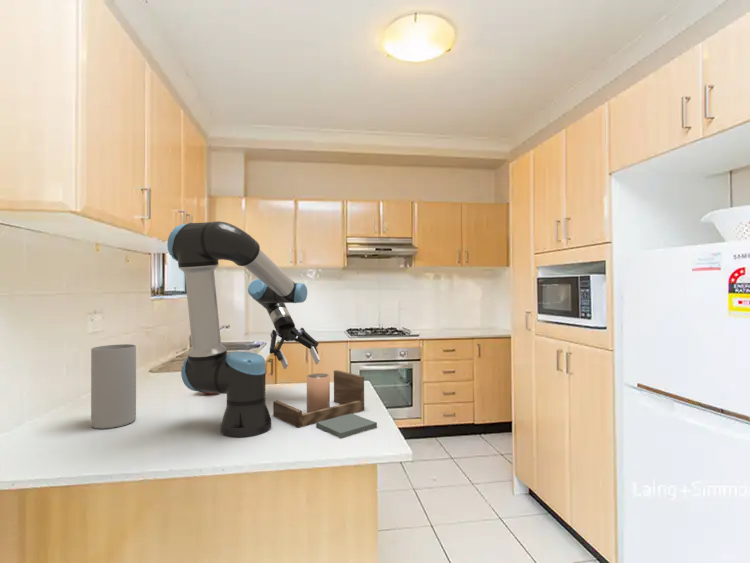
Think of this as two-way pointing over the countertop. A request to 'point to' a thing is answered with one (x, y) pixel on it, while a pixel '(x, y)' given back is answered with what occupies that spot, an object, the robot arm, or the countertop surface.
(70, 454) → the countertop surface
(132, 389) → the cylinder vase
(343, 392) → the brown wooden bracket
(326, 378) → the tan upright cylinder
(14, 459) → the countertop surface
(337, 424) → the rubber mat
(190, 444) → the countertop surface
